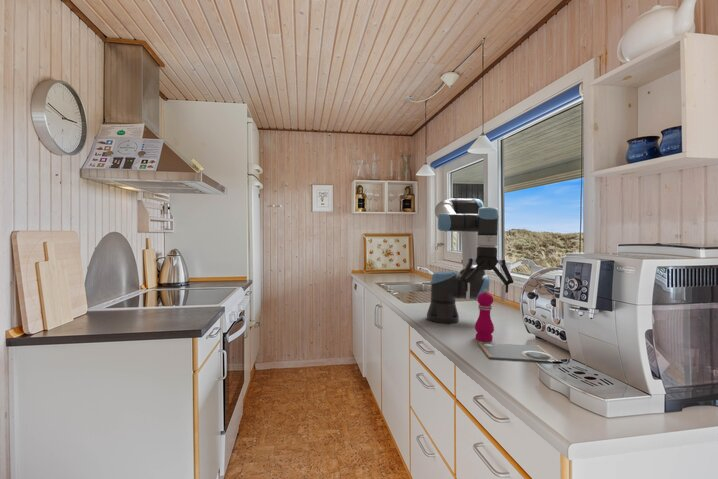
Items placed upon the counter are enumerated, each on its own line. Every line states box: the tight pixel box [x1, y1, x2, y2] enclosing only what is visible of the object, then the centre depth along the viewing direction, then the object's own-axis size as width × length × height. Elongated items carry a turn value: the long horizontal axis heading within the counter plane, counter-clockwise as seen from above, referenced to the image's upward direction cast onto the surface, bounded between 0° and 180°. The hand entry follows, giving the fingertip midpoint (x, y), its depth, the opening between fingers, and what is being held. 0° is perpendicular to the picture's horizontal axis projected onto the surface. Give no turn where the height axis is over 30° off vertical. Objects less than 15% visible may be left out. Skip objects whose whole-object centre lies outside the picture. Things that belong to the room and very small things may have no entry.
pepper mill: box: [474, 289, 495, 343], centre depth 142 cm, size 7×7×20 cm
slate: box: [477, 341, 558, 362], centre depth 126 cm, size 17×22×1 cm
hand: (485, 300), depth 141 cm, fingers open, 13 cm apart
